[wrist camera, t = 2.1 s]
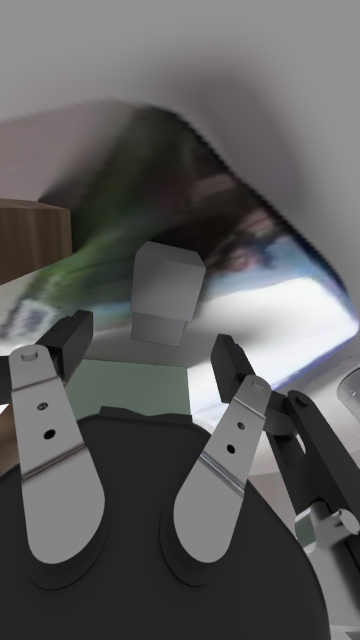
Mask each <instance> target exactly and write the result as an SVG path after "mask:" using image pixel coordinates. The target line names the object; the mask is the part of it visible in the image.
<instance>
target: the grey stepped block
mask: <svg viewBox="0 0 360 640" xmlns="http://www.w3.org/2000/svg"><path fill="white" fill-rule="evenodd" d="M205 271H206V267H205V265H204V263H203V261H202V260H201V258H200V256H199V254H198V253H197V252H195V251H191V250H186V249H182V248H177V247H173V246H168V245H164V244H159V243H155V242H151V241H147V242H146V243H145V244H144V245H143V246H142V247H141V248H140V249H139V250H138V251H137V252H136V255H135V265H134V275H133V284H132V294H131V304H130V311H131V312H134V316H133V324H132V333H131V339H132V340H138V341H145V342H151V343H157V344H163V345H170V346H176V347H179V346H180V342H181V338H182V334H183V331H184V327H185V323H186V321H188V322H191V321H192V318H193V314H194V311H195V307H196V303H197V300H198V296H199V293H200V289H201V286H202V282H203V279H204V275H205Z"/></svg>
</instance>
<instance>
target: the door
mask: <svg viewBox="0 0 360 640" xmlns="http://www.w3.org/2000/svg"><path fill="white" fill-rule="evenodd" d="M65 392H66V395H67V397H68V400H69V403H70V406H71V408H72V411H73V414H74V417H75V419H76V420H78V419H81V418H83V417H85V416H88V415H92V414H97V413H99V411H100V409H101V406H109V407H119V408H126V409H129V410H132V411H134V412H137V413H140V414H143V415H146V416H152V415H159V414H166V413H177V414H187V415H191V413H190V401H189V389H188V376H187V367H177V366H164V365H151V364H138V363H125V362H112V361H99V360H86V359H83V360H82V361H81V363H80V365H79V366H78V368H77V369H76V371H75V373H74V374H73V376H72V377H71V379H70V381H69V382H68V384H67V385H66V387H65Z"/></svg>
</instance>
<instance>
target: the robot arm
mask: <svg viewBox="0 0 360 640" xmlns="http://www.w3.org/2000/svg"><path fill="white" fill-rule="evenodd" d="M92 337H93V313H92V312H90V311H84V310H77V311H76V313H75V314H74V315H73V316H72V317H70V316H67V317H64V318H62V319H60V320H59V321H58V322H57V323H56V324H54V326H52V327H51V328H50V330H48V331H47V332H46V333H45V334H44V335H43V336H42V337H41V338H40V339H39V340H38V341H37V342H36V343H35V344H34V345H26V346H22V347H20V348H17V349H16V350H14V351H13V352H12V353H11V354H10V355H9V356H0V405H4V404H10V403H13V410H14V418H15V426H16V434H17V442H18V450H19V458H20V461H19V462H17V463H16V464H15V465H13V466H12V467H11V468H9V469H8V470H6V471H5V472H4V473H2V474H1V475H0V640H331V634H330V630H331V631H345V632H346V634H347V635H348V636H349V637H350V638H351V639H352V640H360V469H359V468H358V466H357V465H356V463H355V462H354V460H353V459H352V457H351V456H350V455H349V453H348V452H347V450H346V449H345V447H344V446H343V444H342V443H341V441H340V440H339V438H338V437H337V436H336V434H335V433H334V431H333V430H332V428H331V427H330V425H329V424H328V422H327V421H326V419H325V418H324V417H323V415H322V414H321V412H320V411H319V409H318V408H317V406H316V405H315V403H314V402H313V401H312V400H311V399H310V398H309V397H308V396H306V395H305V394H303V393H301V392H299V391H295V390H291V391H289V392H288V393H287V395H286V396H285V395H282V394H280V393H277V392H275V391H272V390H271V387H270V385H269V384H268V383H267V382H266V381H265V380H264V379H263V378H261V377H259V376H256V374H255V372H254V370H253V368H252V366H251V364H250V362H249V361H248V359H247V357H246V355H245V353H244V351H243V349H242V348H241V347H240V346H239V345H238V344H235V343H234V341H233V338H232V336H231V335H225V334H219V335H218V336H217V339H216V342H215V344H214V347H213V349H212V352H211V363H212V367H213V371H214V375H215V379H216V382H217V386H218V390H219V394H220V398H221V402H222V403H229V406H228V408H227V410H226V411H225V413H224V415H223V417H222V418H221V420H220V422H219V424H218V425H217V427H216V429H215V431H214V432H213V434H212V435H211V434H210V433H209V432H208V431H207V430H205V429H204V428H202V427H201V426H199V425H197V424H195V423H193V422H192V415H187V414H177V413H166V414H159V415H152V416H146V415H143V414H140V413H137V412H134V411H132V410H129V409H126V408H119V407H109V406H101V409H100V411H99V413H97V414H92V415H88V416H85V417H83V418H81V419H78V420H76V419H75V417H74V414H73V411H72V408H71V406H70V403H69V400H68V397H67V395H66V392H65V389H64V386H63V384H66V382H67V381H68V379H69V378H70V376H71V374H72V373H73V371H74V369H75V368H76V366H77V364H78V363H79V361H80V359H81V358H82V356H83V355H84V353H85V351H86V350H87V348H88V346H89V345H90V343H91V341H92ZM337 395H338V398H339V400H340V401H341V402H342V403H343V404H344V405H345V407H346V408H347V409H348V410H349V411H350V412H351V413H352V414H353V416H354V417H355V418H356V419H357V420H358V421H359V423H360V369H358V370H357V371H355V372H353V373H352V374H351V375H349V376H348V377H347V378H346V379H345V380H344V381H343V382H342V383H341V385H340V386H339V389H338V393H337ZM262 430H263V431H265V432H266V435H267V437H268V440H269V443H270V445H271V448H272V451H273V453H274V456H275V459H276V462H277V464H278V467H279V470H280V472H281V475H282V478H283V480H284V483H285V486H286V488H287V491H288V494H289V497H290V499H291V502H292V505H293V508H294V510H295V513H296V515H297V517H296V519H295V532H296V536H297V537H296V538H295V536H294V535H293V534H292V533H291V531H290V530H289V529H288V528H287V527H286V525H285V524H284V523H283V522H282V520H281V519H280V518H279V517H278V516H277V514H276V513H275V512H274V511H273V509H272V508H271V507H270V506H269V504H268V503H267V502H266V501H265V499H264V498H263V497H262V496H261V495H260V493H259V492H258V491H257V490H256V488H255V487H254V486H253V485H252V483H251V482H250V481H249V480H248V479H247V477H248V474H249V471H250V468H251V465H252V461H253V458H254V455H255V452H256V449H257V445H258V442H259V439H260V436H261V433H262ZM297 434H299V436H300V437H301V439H302V441H303V443H304V446H305V450H306V453H305V454H304V452H303V450H302V448H301V446H300V444H299V442H298V440H297V438H296V435H297Z"/></svg>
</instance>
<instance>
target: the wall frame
mask: <svg viewBox="0 0 360 640" xmlns="http://www.w3.org/2000/svg"><path fill="white" fill-rule="evenodd" d="M72 255H73V253H72V233H71V212H70V209H66V208H62V207H57V206H53V205H49V204H44V203H40V202H36V201H26V200H13V199H1V198H0V285H2V284H5V283H7V282H10V281H12V280H14V279H17V278H19V277H22V276H24V275H26V274H29V273H31V272H33V271H36V270H38V269H41V268H43V267H45V266H48V265H50V264H53V263H55V262H57V261H60V260H62V259H65V258H67V257H69V256H72ZM77 368H78V364H77V366H76V368H75V369H74V371H73V373H72V374H71V376H70V378H69V379H68V381H67V382H66V384H63V386H64V389H65V387H66V385H67V384H68V382H69V381H70V379H71V377H72V376H73V374H74V373H75V371H76V369H77ZM19 461H20V458H19V450H18V442H17V434H16V426H15V418H14V410H13V403H10V404H9V405H8V406H7V407H6V408H5V409H4V411H3V412H2V413H1V414H0V475H1V474H2V473H4V472H5V471H6V470H8V469H9V468H11V467H12V466H13V465H15V464H16V463H17V462H19Z"/></svg>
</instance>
